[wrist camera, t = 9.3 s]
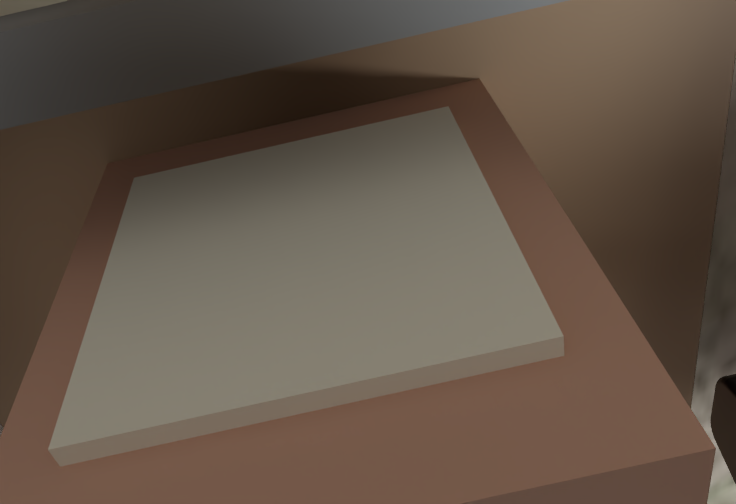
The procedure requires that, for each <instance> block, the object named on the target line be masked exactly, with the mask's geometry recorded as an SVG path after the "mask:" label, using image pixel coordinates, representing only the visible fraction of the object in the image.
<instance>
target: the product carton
mask: <svg viewBox="0 0 736 504" xmlns="http://www.w3.org/2000/svg"><path fill="white" fill-rule="evenodd" d="M715 450H716V448H715V446H714V445H713V443H712V442H711V440H710V438H709V437H708V435H707V434H706V432H705V431H704V429H703V427H702V426H701V424H700V423H699V421H698V420H697V418H696V416H695V415H694V413H693V412H692V410H691V409H690V407H689V406H688V404H687V402H686V401H685V399H684V398H683V396H682V395H681V393H680V391H679V390H678V388H677V387H676V385H675V384H674V382H673V380H672V379H671V377H670V376H669V374H668V373H667V371H666V370H665V368H664V366H663V365H662V363H661V362H660V360H659V359H658V357H657V355H656V354H655V352H654V351H653V349H652V348H651V346H650V344H649V343H648V341H647V340H646V338H645V337H644V335H643V334H642V332H641V330H640V329H639V327H638V326H637V324H636V323H635V321H634V319H633V318H632V316H631V315H630V313H629V312H628V310H627V308H626V307H625V305H624V304H623V302H622V301H621V299H620V298H619V296H618V294H617V293H616V291H615V290H614V288H613V287H612V285H611V283H610V282H609V280H608V279H607V277H606V276H605V274H604V272H603V271H602V269H601V268H600V266H599V265H598V263H597V261H596V260H595V258H594V257H593V255H592V254H591V252H590V251H589V249H588V247H587V246H586V244H585V243H584V241H583V240H582V238H581V236H580V235H579V233H578V232H577V230H576V229H575V227H574V225H573V224H572V222H571V221H570V219H569V218H568V216H567V215H566V213H565V211H564V210H563V208H562V207H561V205H560V204H559V202H558V200H557V199H556V197H555V196H554V194H553V193H552V191H551V189H550V188H549V186H548V185H547V183H546V182H545V180H544V179H543V177H542V175H541V174H540V172H539V171H538V169H537V168H536V166H535V164H534V163H533V161H532V160H531V158H530V157H529V155H528V153H527V152H526V150H525V149H524V147H523V146H522V144H521V142H520V141H519V139H518V138H517V136H516V135H515V133H514V132H513V130H512V128H511V127H510V125H509V124H508V122H507V121H506V119H505V117H504V116H503V114H502V113H501V111H500V110H499V108H498V106H497V105H496V103H495V102H494V100H493V99H492V97H491V96H490V94H489V92H488V91H487V89H486V88H485V86H484V85H483V83H482V81H481V80H480V78H479V79H475V80H470V81H466V82H462V83H457V84H453V85H448V86H444V87H440V88H435V89H431V90H426V91H422V92H418V93H413V94H409V95H405V96H400V97H396V98H391V99H387V100H383V101H378V102H374V103H370V104H365V105H361V106H356V107H352V108H348V109H343V110H339V111H335V112H330V113H326V114H321V115H317V116H313V117H308V118H304V119H300V120H295V121H291V122H286V123H282V124H278V125H273V126H269V127H264V128H260V129H256V130H251V131H247V132H243V133H238V134H234V135H229V136H225V137H221V138H216V139H212V140H208V141H203V142H199V143H194V144H190V145H186V146H181V147H177V148H173V149H168V150H164V151H159V152H155V153H151V154H146V155H142V156H137V157H133V158H129V159H124V160H120V161H116V162H111V163H107V166H106V168H105V171H104V173H103V176H102V179H101V181H100V184H99V186H98V189H97V191H96V194H95V196H94V199H93V202H92V204H91V207H90V209H89V212H88V214H87V217H86V219H85V222H84V225H83V227H82V230H81V232H80V235H79V237H78V240H77V242H76V245H75V248H74V250H73V253H72V255H71V258H70V260H69V263H68V265H67V268H66V271H65V273H64V276H63V278H62V281H61V283H60V286H59V288H58V291H57V294H56V296H55V299H54V301H53V304H52V306H51V309H50V311H49V314H48V316H47V319H46V322H45V324H44V327H43V329H42V332H41V334H40V337H39V339H38V342H37V345H36V347H35V350H34V352H33V355H32V357H31V360H30V362H29V365H28V368H27V370H26V373H25V375H24V378H23V380H22V383H21V385H20V388H19V391H18V393H17V396H16V398H15V401H14V403H13V406H12V408H11V411H10V414H9V416H8V419H7V421H6V424H5V426H4V429H3V431H2V434H1V436H0V504H707V499H708V493H709V487H710V481H711V475H712V469H713V462H714V456H715Z"/></svg>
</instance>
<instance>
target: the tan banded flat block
mask: <svg viewBox="0 0 736 504" xmlns="http://www.w3.org/2000/svg"><path fill="white" fill-rule="evenodd" d="M735 55H736V0H0V423H1V425H2V426H3V427H4V426H5V424H6V421H7V419H8V416H9V414H10V411H11V408H12V406H13V403H14V401H15V398H16V396H17V393H18V391H19V388H20V385H21V383H22V380H23V378H24V375H25V373H26V370H27V368H28V365H29V362H30V360H31V357H32V355H33V352H34V350H35V347H36V345H37V342H38V339H39V337H40V334H41V332H42V329H43V327H44V324H45V322H46V319H47V316H48V314H49V311H50V309H51V306H52V304H53V301H54V299H55V296H56V294H57V291H58V288H59V286H60V283H61V281H62V278H63V276H64V273H65V271H66V268H67V265H68V263H69V260H70V258H71V255H72V253H73V250H74V248H75V245H76V242H77V240H78V237H79V235H80V232H81V230H82V227H83V225H84V222H85V219H86V217H87V214H88V212H89V209H90V207H91V204H92V202H93V199H94V196H95V194H96V191H97V189H98V186H99V184H100V181H101V179H102V176H103V173H104V171H105V168H106V166H107V163H111V162H116V161H120V160H124V159H129V158H133V157H137V156H142V155H146V154H151V153H155V152H159V151H164V150H168V149H173V148H177V147H181V146H186V145H190V144H194V143H199V142H203V141H208V140H212V139H216V138H221V137H225V136H229V135H234V134H238V133H243V132H247V131H251V130H256V129H260V128H264V127H269V126H273V125H278V124H282V123H286V122H291V121H295V120H300V119H304V118H308V117H313V116H317V115H321V114H326V113H330V112H335V111H339V110H343V109H348V108H352V107H356V106H361V105H365V104H370V103H374V102H378V101H383V100H387V99H391V98H396V97H400V96H405V95H409V94H413V93H418V92H422V91H426V90H431V89H435V88H440V87H444V86H448V85H453V84H457V83H462V82H466V81H470V80H475V79H479V78H480V80H481V81H482V83H483V85H484V86H485V88H486V89H487V91H488V92H489V94H490V96H491V97H492V99H493V100H494V102H495V103H496V105H497V106H498V108H499V110H500V111H501V113H502V114H503V116H504V117H505V119H506V121H507V122H508V124H509V125H510V127H511V128H512V130H513V132H514V133H515V135H516V136H517V138H518V139H519V141H520V142H521V144H522V146H523V147H524V149H525V150H526V152H527V153H528V155H529V157H530V158H531V160H532V161H533V163H534V164H535V166H536V168H537V169H538V171H539V172H540V174H541V175H542V177H543V179H544V180H545V182H546V183H547V185H548V186H549V188H550V189H551V191H552V193H553V194H554V196H555V197H556V199H557V200H558V202H559V204H560V205H561V207H562V208H563V210H564V211H565V213H566V215H567V216H568V218H569V219H570V221H571V222H572V224H573V225H574V227H575V229H576V230H577V232H578V233H579V235H580V236H581V238H582V240H583V241H584V243H585V244H586V246H587V247H588V249H589V251H590V252H591V254H592V255H593V257H594V258H595V260H596V261H597V263H598V265H599V266H600V268H601V269H602V271H603V272H604V274H605V276H606V277H607V279H608V280H609V282H610V283H611V285H612V287H613V288H614V290H615V291H616V293H617V294H618V296H619V298H620V299H621V301H622V302H623V304H624V305H625V307H626V308H627V310H628V312H629V313H630V315H631V316H632V318H633V319H634V321H635V323H636V324H637V326H638V327H639V329H640V330H641V332H642V334H643V335H644V337H645V338H646V340H647V341H648V343H649V344H650V346H651V348H652V349H653V351H654V352H655V354H656V355H657V357H658V359H659V360H660V362H661V363H662V365H663V366H664V368H665V370H666V371H667V373H668V374H669V376H670V377H671V379H672V380H673V382H674V384H675V385H676V387H677V388H678V390H679V391H680V393H681V395H682V396H683V398H684V399H685V401H686V402H687V404H688V406H689V407H690V409H691V402H692V394H693V386H694V379H695V371H696V363H697V355H698V347H699V339H700V331H701V323H702V315H703V308H704V300H705V292H706V284H707V276H708V268H709V260H710V252H711V244H712V237H713V229H714V221H715V213H716V205H717V197H718V189H719V181H720V174H721V166H722V158H723V150H724V142H725V134H726V126H727V118H728V110H729V103H730V95H731V87H732V79H733V71H734V63H735Z"/></svg>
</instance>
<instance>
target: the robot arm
mask: <svg viewBox="0 0 736 504" xmlns="http://www.w3.org/2000/svg"><path fill="white" fill-rule="evenodd" d="M711 428H712V432H713V435H714V438H715V441H716V443H717V445H718V447H719V449H720V451H721V453H722V456H723V458H724V460H725V462H726V464H727V466H728V469H729V471H730V473H731V475H732V477H733V479H734V482H735V484H736V374H734V375H729V376H724V377H722V378H720V379H719V380H718V381H717V384H716V388H715V394H714V401H713V407H712V414H711Z"/></svg>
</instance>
